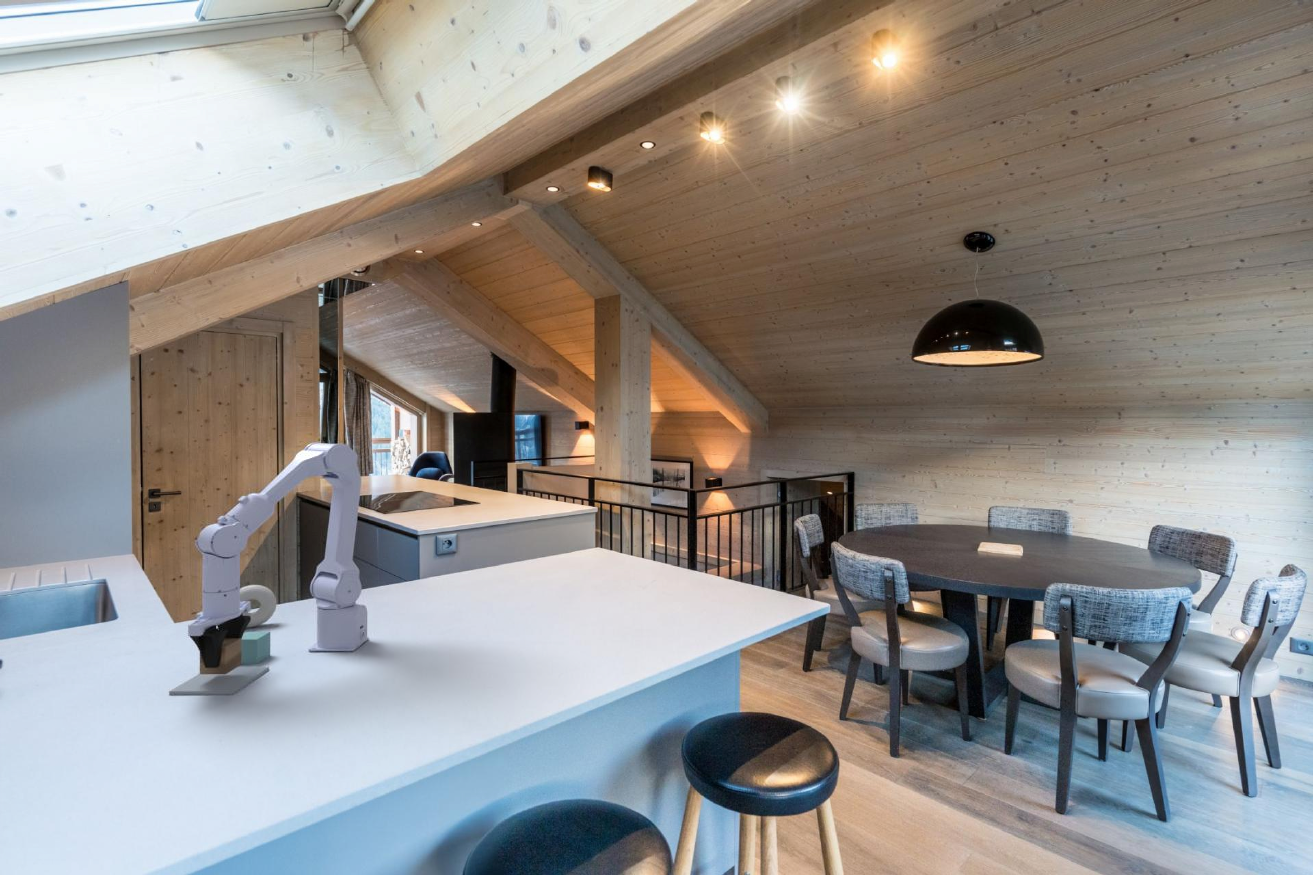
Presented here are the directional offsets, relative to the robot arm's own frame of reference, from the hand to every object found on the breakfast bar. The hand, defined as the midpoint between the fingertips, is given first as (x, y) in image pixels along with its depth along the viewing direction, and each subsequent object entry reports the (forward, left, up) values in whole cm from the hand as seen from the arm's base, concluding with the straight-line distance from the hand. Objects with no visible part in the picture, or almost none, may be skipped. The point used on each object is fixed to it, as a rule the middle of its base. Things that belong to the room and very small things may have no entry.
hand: (221, 661), depth 116 cm
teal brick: (+1, -11, -4) cm, 12 cm away
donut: (+13, -31, -4) cm, 34 cm away
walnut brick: (0, 0, -1) cm, 1 cm away
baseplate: (0, 0, -4) cm, 4 cm away
